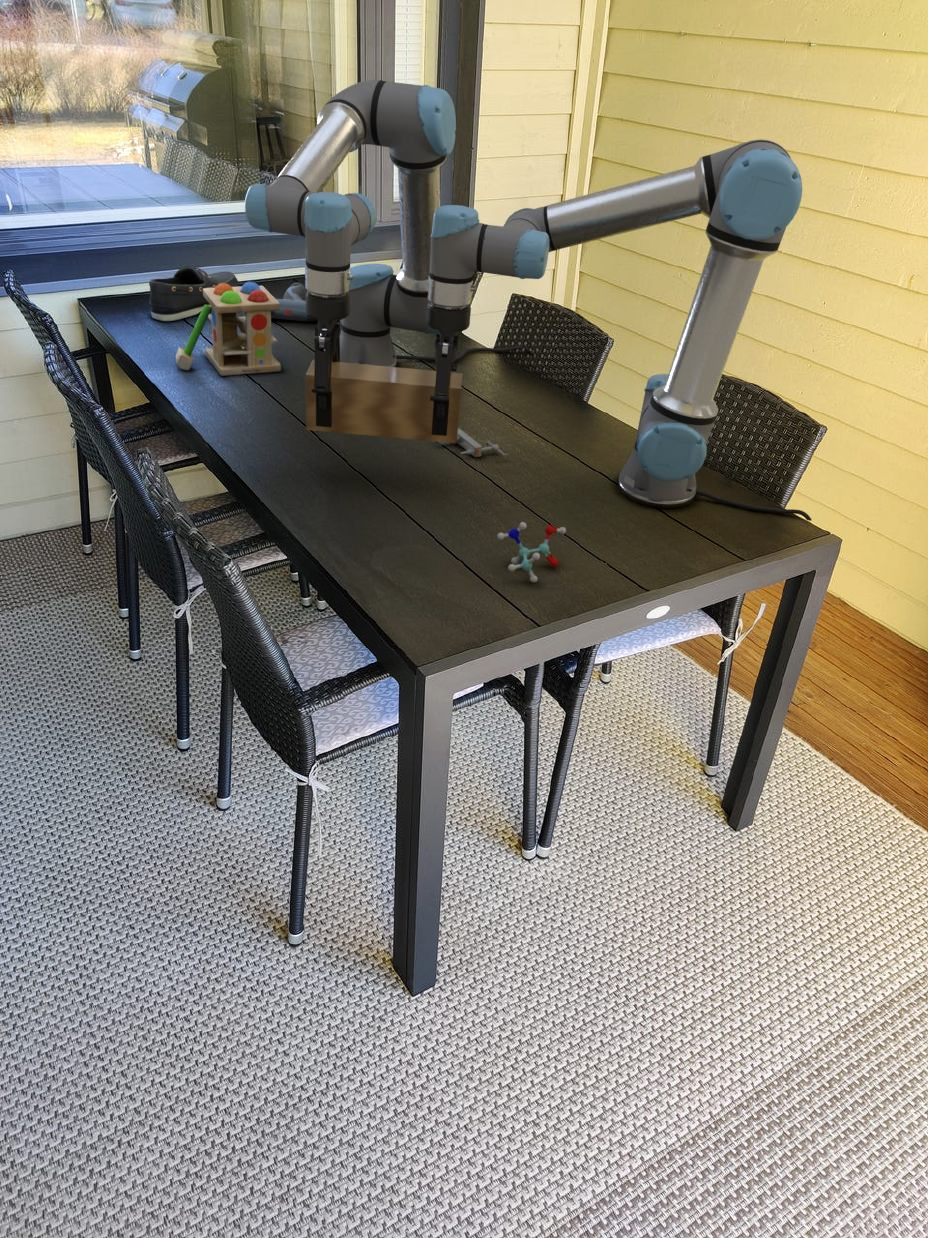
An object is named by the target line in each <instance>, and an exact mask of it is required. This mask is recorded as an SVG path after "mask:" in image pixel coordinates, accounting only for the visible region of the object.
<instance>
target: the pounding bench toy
mask: <svg viewBox="0 0 928 1238" xmlns="http://www.w3.org/2000/svg"><path fill="white" fill-rule="evenodd" d="M203 296H204V297H205V299H206V300H207V301H208V302H209V304H210V305H211V307H210V306H208V305H204V307H203V309H202V311H201V312H200V313H199V316H198V318H197V320H196V322H195V324H194V327H193V329H192V331H191V332H190V333H191V334H190V336H189V338H188V340H187V343H186V344H185V347H184V348H182V347H180V346H179V347H178V349H177V351H176V354H175V357H174V358H175V362H176V365H177V366H178V368H179V369H182V370H185V371H189V370H190V369H191V367H192V365H193V363H194V356H193V351H194V348H195V347H196V345H197V342H198V340H199V337H200V336H201V333H202V332H203V329H204V326H205V325H206V322H207V320H209V321H210V322H211V336H212V337H211V338H212V339H211V340H212V348H205V349H204V352H205V353H204V355H205V357H206V359H208V361H209V363H210V364H211V365H212V366H213V367H214V369H215V370H216V371H217V372H218V374H219V375H220V376H222V377H223V376H234V375H235V376H236V375H246V374H247V375H250V374H262V373H275V372H281V370H282V364H281V363H280V362H279V360H278V359H277V358H276V357H275V356H274V355H273V348H272V347H273V345H272V344H276V343H278V342H279V341H278V339H277V338H276V337H275V336H274V334H272V318H271V310H280V303H279V302H278V301H277V300H276V299H277V298H276V297H274V296H273V295H272V294H271V293H270V292H269V290H268V289H267V288H266V287H264V285H259V284H257V283H256V282H255V281H247V282H245V283H244V284H243V285H242V286H239V287H231V286H230V285H228V284H226V283H221V284H218V285H217V286H216V287H215V288H204V289H203ZM238 313H244V314H245V315H244V316H238ZM238 329H239V331H240V333H239V334H238Z"/></svg>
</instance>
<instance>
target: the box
mask: <svg viewBox="0 0 928 1238" xmlns="http://www.w3.org/2000/svg"><path fill="white" fill-rule="evenodd" d="M314 373H315V359H312V361H311V363H310V365H309V367H308V370H307V372H306V374H305V420H306V421H305V422H306V423H305V426H306V427H305V428H306V429H305V430H306V431H313V432H314V431H315V432H326V433H337V434H338V433H339V434H346V435H347V434H349V435H358V436H359V435H360V436H371V437H380V438H382V437H383V438H391V439H392V438H393V439H403V440H412V441H413V440H414V441H424V442H425V441H427V442H438V443H439V442H446V443H450V444H458V443H457V434H458V428H459V426H460V425H459V424H460V412H461V399H462V387H463V375H464V374H463V372H454V371H451V377H450V388H449V413H448V426H447V436H441V435H432V420H433V404H434V401H430V396H434V394H435V382H436V370H431V369H418V368H408V367H397V366H396V367H387V366H376V365H365V364H355V363H344V362H332V373H331V392H332V426H331V427H321V426H316V393H312V391H311V389H314ZM441 395H445V394H441Z"/></svg>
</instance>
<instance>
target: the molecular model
mask: <svg viewBox="0 0 928 1238" xmlns="http://www.w3.org/2000/svg"><path fill="white" fill-rule="evenodd" d="M527 526H528V525H527V523H526V522H524V521H521V522H520V523H519V525H518V527H517V528H511V529H510V530H509V532H505V533H504V532H498V533H497V535H496V537H497V539H498V540H499V541H503V540H504V539H505V538H509V537H510V538H511V539H512V540H514V541H515V542H516V545H517V546H518V548H519V550H518V551H517V552H518V555H516V556H515V557H512V558H511V561H510V562H511V563H510V564H509V565H508V567H507V568H508V571H509V572H511V573H512V572H515V571H516V570H519V569H522V570H523V571H527V573H528V574H529V577H530V578H529V581H530V583H537V582H538V580H539V579H538V577H537V575H535V574H534V572H533V570H532V567H533V562H534V561H539V560H540V558H541V555H544V557H545V559H546V560H547V561H548V564H549V566H550V567H551V568H557V567H558V566H559V560H558V558H556V557H554V556H553V554H552V553H551V551H550V546H549V545H548V543H549V541H550V537H551V536H553V535H554V534H555V533H559V534H560V535H565V534H566V532H567V529H566V527H564V526H561V527H559V528H555V527H554V526H553V525H547V526H546V527H545V529H544V532H545V535H546V536H545V538H544V541H543V543H541V544H539V545H538V547H536V548H531V549H528V548H527V547H524V546H523V544H522V541H521V540H520V535H521V534H520V532H521V531H522V530H525V529H526V528H527ZM530 554H532V557H531V558H530V559H528V557H529V556H530ZM540 554H541V555H540ZM520 559H522V560H521V563H519V560H520Z"/></svg>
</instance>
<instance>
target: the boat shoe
mask: <svg viewBox="0 0 928 1238" xmlns="http://www.w3.org/2000/svg"><path fill="white" fill-rule="evenodd" d="M221 283H226V284H228V285H230V286H231V287H240V285H239V280H238V278H237V277H236V275H235V274H234V273H233V272H231V271H220V272H213V273H210V274H208V273H207V272H206V271H205V270H204V269H202V268H199V267H195V266H191V265H186V266H185V265H184V266H183V267H181V268H179V269H178V270H177V271H176V272H175V273H174V274H173V277H172V276H171V277H167V278H166V277H165V278H152V279H150V280H149V281H148V285H149V291H150V292H149V302H148V306H151V309H150V313H151V317H152V318H153V319H155V320H157V321H162V322H171V321H172V322H173V321H178V320H182V319H184V318H188V317H192V316H196V315H197V314H200V313H201V311H202V309H203V307H204V305H208V306H210V307H211V305H210V304H209V302H208V301H207V300H206V299H205V297H204V296H203V289H204V288H215V287H216V286H217V285H218V284H221Z"/></svg>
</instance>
